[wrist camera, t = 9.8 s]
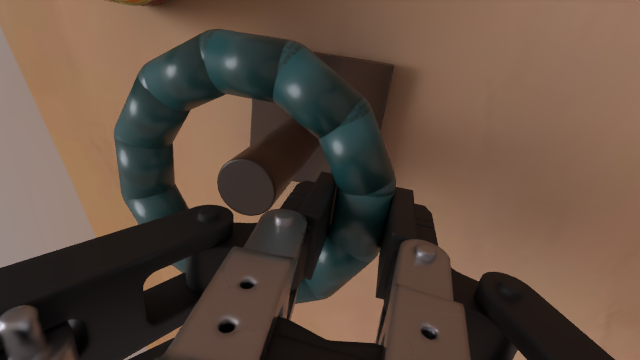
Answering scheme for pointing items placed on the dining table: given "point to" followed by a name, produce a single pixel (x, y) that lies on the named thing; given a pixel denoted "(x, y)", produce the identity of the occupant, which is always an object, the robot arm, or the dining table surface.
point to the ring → (295, 99)
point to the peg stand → (292, 142)
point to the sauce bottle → (138, 2)
